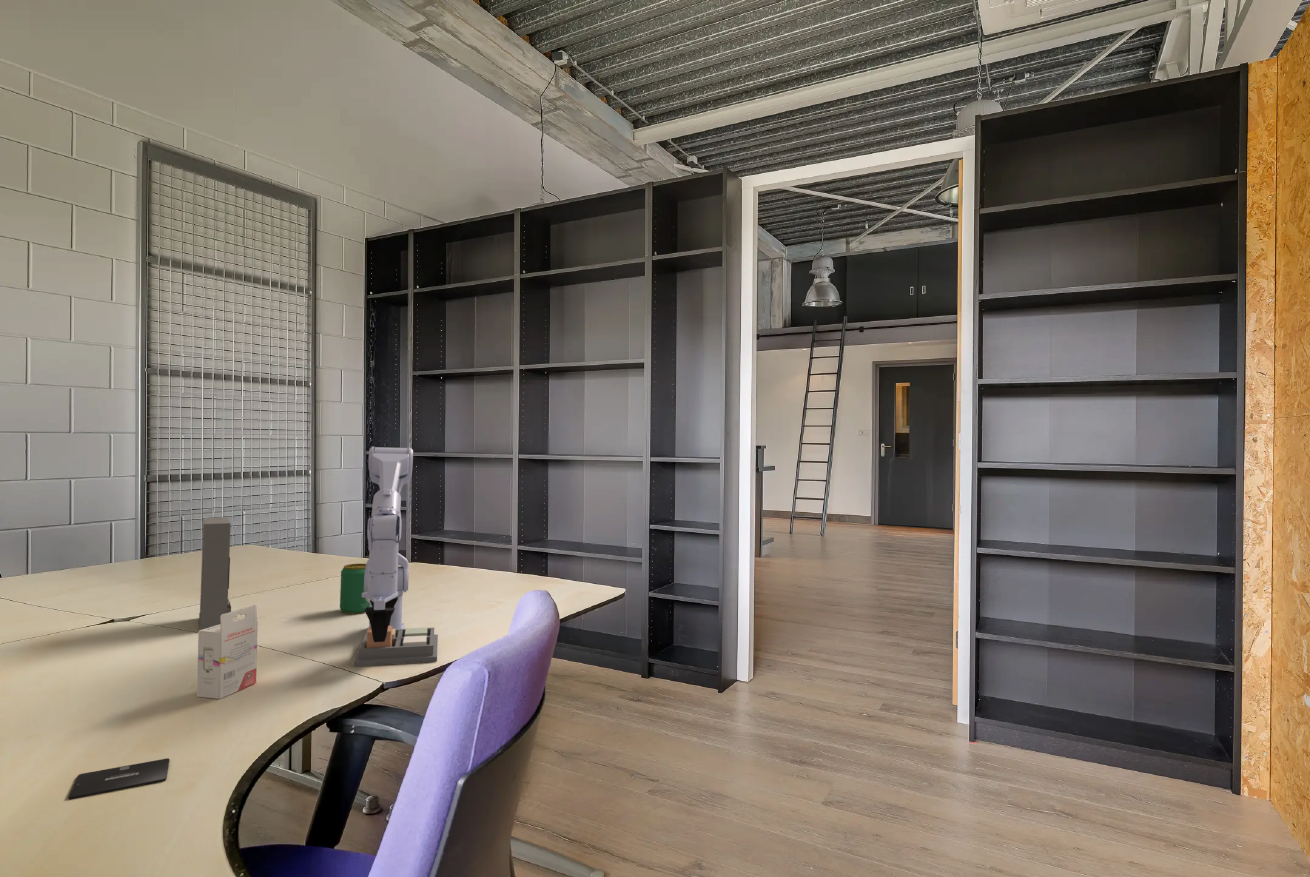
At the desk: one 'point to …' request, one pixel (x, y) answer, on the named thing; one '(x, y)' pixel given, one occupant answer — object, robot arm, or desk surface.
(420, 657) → the frame board
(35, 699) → the desk surface
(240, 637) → the ink cartridge box
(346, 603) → the beverage can
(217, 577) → the tall grey upright panel
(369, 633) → the terracotta block
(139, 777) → the solid state drive
